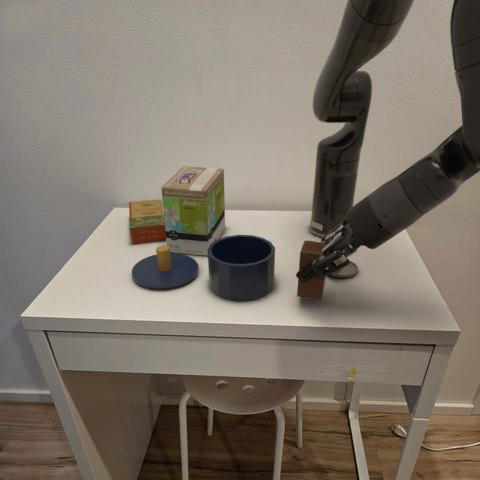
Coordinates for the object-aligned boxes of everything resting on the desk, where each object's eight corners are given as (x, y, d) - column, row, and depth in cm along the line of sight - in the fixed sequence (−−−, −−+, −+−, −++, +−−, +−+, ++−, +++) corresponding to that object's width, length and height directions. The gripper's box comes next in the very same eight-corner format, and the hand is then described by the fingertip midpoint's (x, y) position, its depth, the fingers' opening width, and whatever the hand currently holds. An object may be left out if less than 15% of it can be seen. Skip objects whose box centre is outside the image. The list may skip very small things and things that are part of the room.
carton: (163, 214, 114) (161, 198, 111) (168, 241, 101) (166, 223, 98) (130, 217, 112) (128, 201, 110) (131, 244, 100) (128, 227, 97)
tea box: (210, 257, 94) (206, 190, 85) (166, 253, 96) (158, 187, 87) (226, 228, 106) (224, 166, 97) (187, 225, 108) (181, 164, 99)
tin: (216, 266, 91) (214, 233, 86) (276, 269, 89) (277, 236, 85) (204, 299, 81) (201, 263, 77) (270, 303, 79) (271, 267, 75)
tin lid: (144, 256, 95) (140, 232, 92) (204, 259, 93) (203, 235, 90) (122, 288, 84) (117, 262, 81) (190, 293, 83) (187, 267, 79)
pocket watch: (359, 265, 90) (366, 220, 84) (353, 286, 84) (361, 238, 78) (319, 260, 92) (324, 215, 86) (311, 279, 86) (316, 232, 80)
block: (301, 284, 81) (304, 240, 76) (324, 287, 80) (330, 242, 75) (297, 296, 78) (300, 251, 72) (321, 300, 77) (326, 254, 71)
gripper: (372, 179, 71) (295, 238, 81) (367, 213, 60) (279, 276, 70) (399, 212, 73) (320, 266, 83) (400, 251, 62) (309, 308, 72)
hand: (302, 271), depth 77 cm, fingers closed on block, 4 cm apart
